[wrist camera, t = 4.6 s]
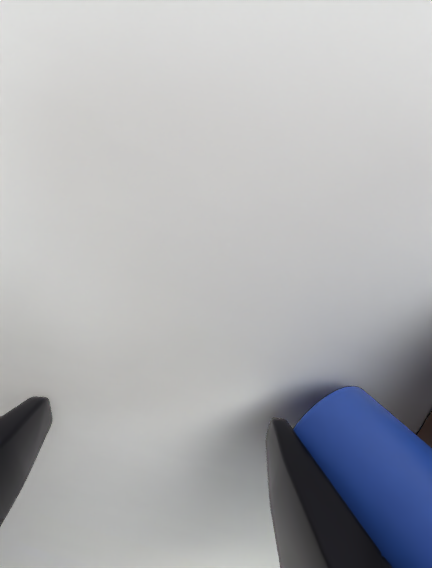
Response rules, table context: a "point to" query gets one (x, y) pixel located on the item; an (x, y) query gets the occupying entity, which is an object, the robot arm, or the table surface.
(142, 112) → the table surface
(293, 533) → the robot arm
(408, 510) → the blue tube
